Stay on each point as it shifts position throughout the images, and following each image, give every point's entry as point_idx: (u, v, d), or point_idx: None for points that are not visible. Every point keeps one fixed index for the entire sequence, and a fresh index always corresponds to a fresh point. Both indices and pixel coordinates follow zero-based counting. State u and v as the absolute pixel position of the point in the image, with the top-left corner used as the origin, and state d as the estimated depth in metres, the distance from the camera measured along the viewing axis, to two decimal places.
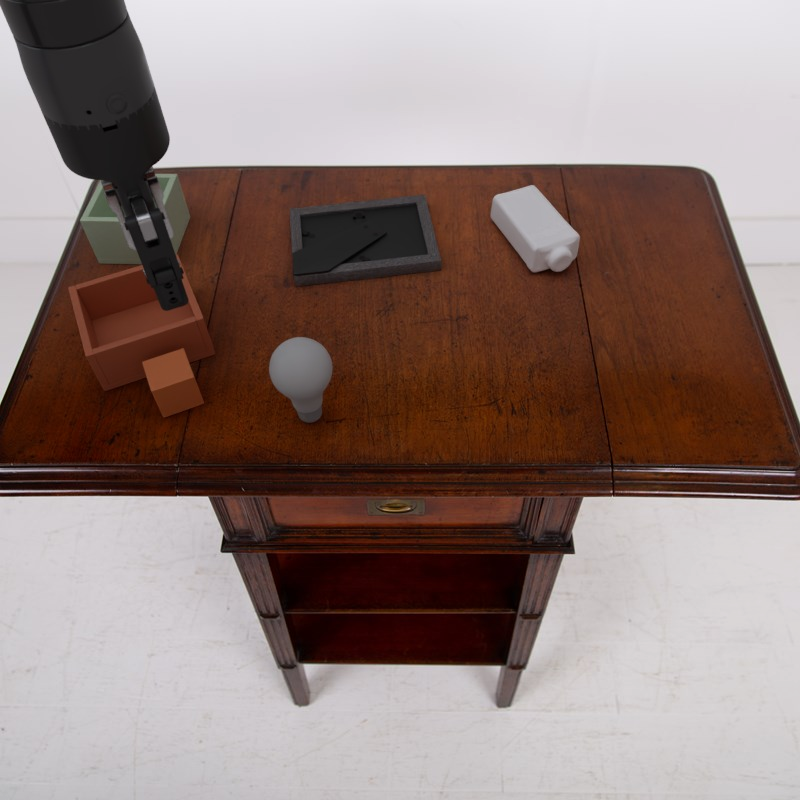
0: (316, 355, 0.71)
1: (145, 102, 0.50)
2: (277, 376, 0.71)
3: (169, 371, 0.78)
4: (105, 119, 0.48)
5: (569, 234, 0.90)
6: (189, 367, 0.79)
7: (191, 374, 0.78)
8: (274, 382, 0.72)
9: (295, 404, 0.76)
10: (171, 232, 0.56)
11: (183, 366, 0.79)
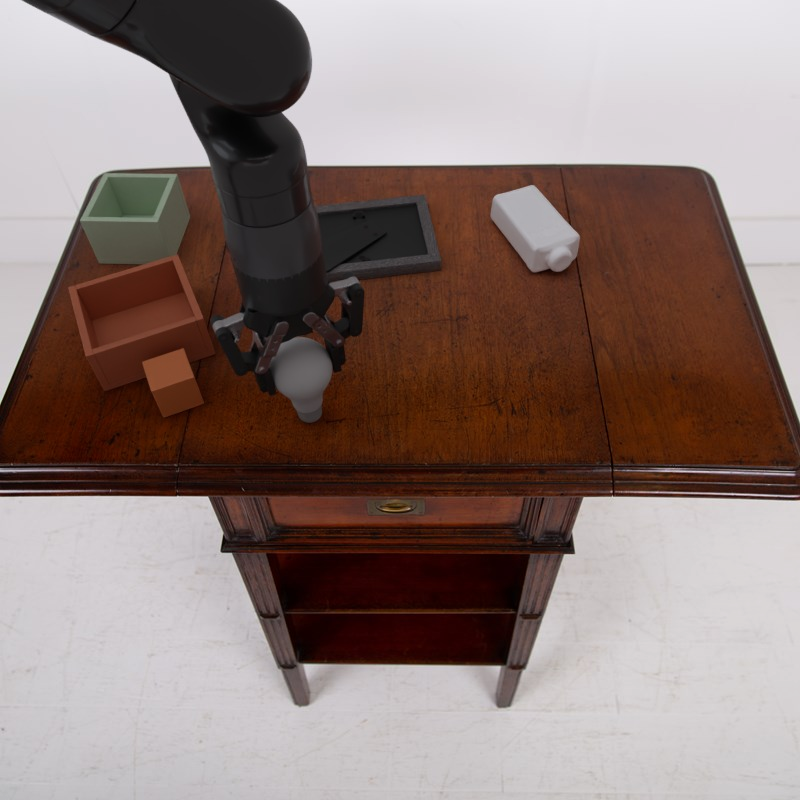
0: (315, 355, 0.71)
1: None
2: (276, 376, 0.71)
3: (169, 371, 0.78)
4: None
5: (569, 234, 0.90)
6: (189, 367, 0.79)
7: (191, 374, 0.78)
8: (274, 382, 0.72)
9: (295, 404, 0.76)
10: None
11: (183, 366, 0.79)
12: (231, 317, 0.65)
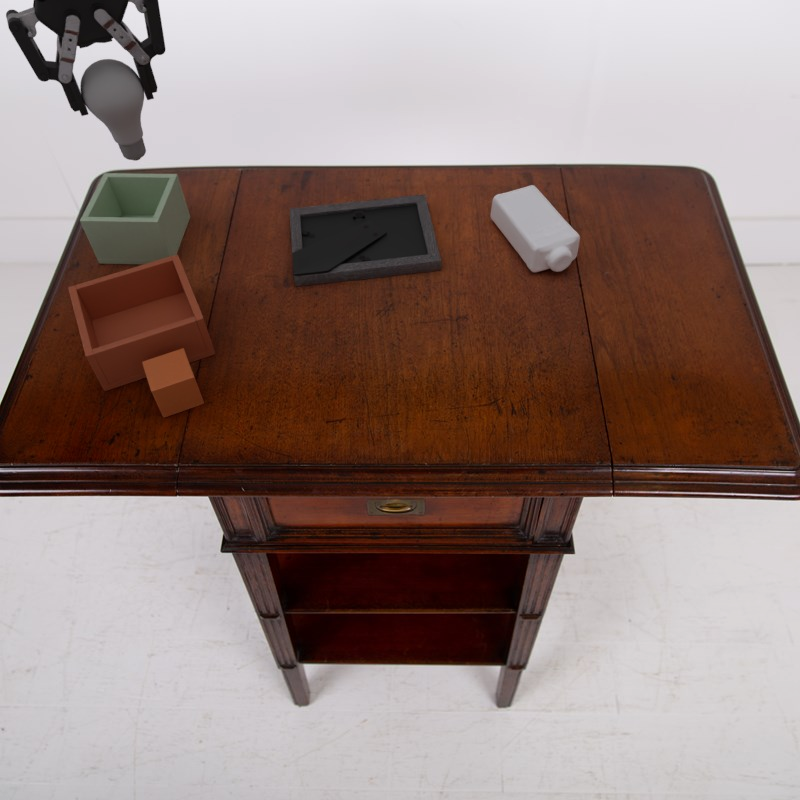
0: (121, 71, 0.75)
1: None
2: (84, 91, 0.75)
3: (169, 371, 0.78)
4: None
5: (569, 233, 0.90)
6: (189, 367, 0.79)
7: (191, 374, 0.78)
8: (84, 100, 0.76)
9: (112, 133, 0.80)
10: (126, 25, 0.75)
11: (183, 366, 0.79)
12: (24, 11, 0.69)
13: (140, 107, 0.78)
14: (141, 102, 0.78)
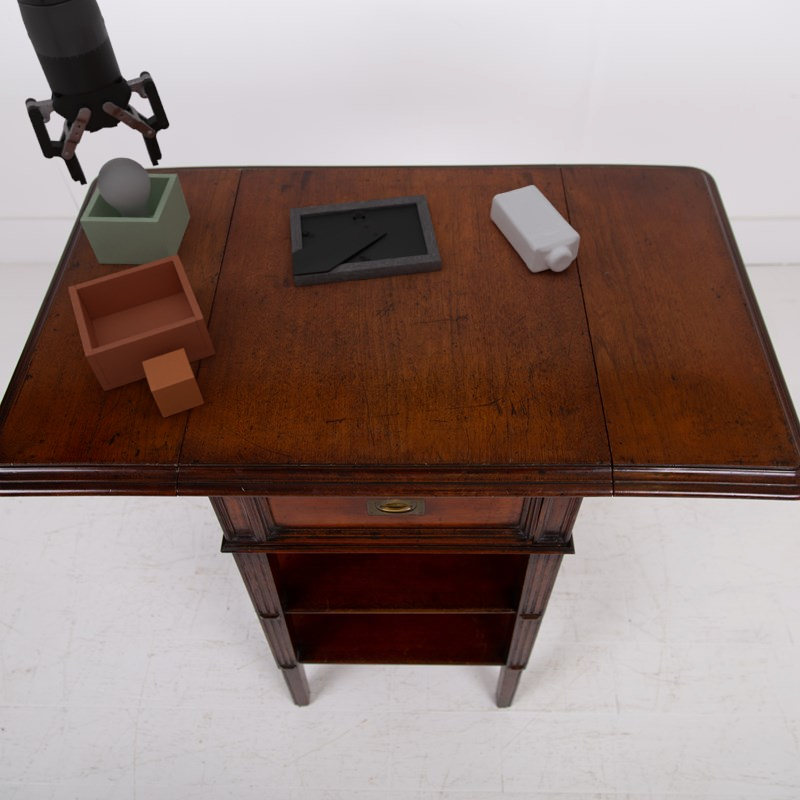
0: (132, 169, 0.90)
1: None
2: (101, 185, 0.90)
3: (169, 371, 0.78)
4: (106, 29, 0.79)
5: (569, 234, 0.90)
6: (189, 367, 0.79)
7: (191, 374, 0.78)
8: (100, 192, 0.91)
9: None
10: (132, 106, 0.87)
11: (183, 366, 0.79)
12: (43, 101, 0.82)
13: (147, 196, 0.92)
14: (148, 192, 0.92)
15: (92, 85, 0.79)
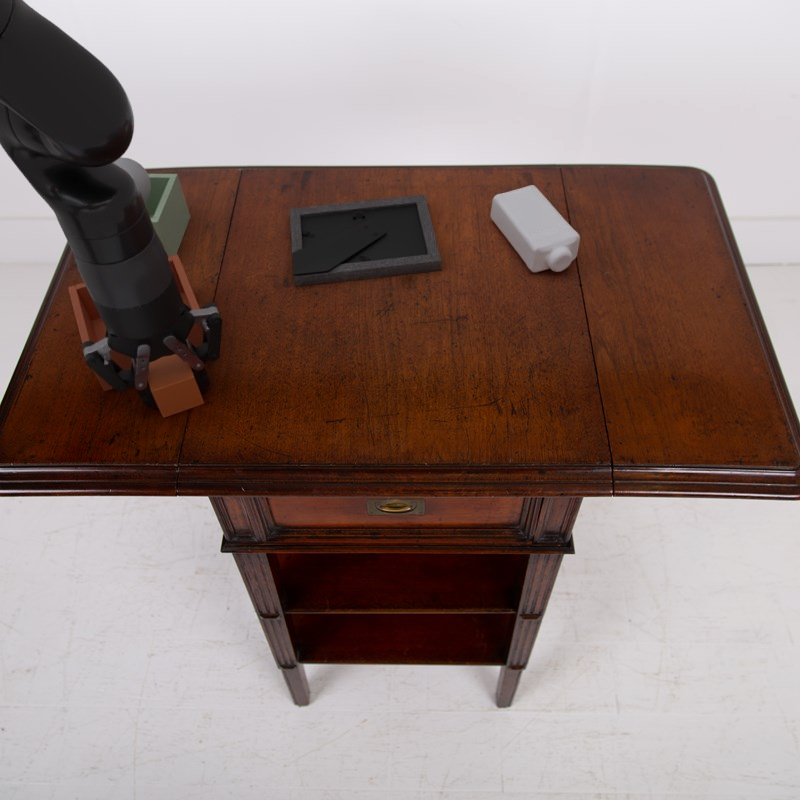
0: (132, 169, 0.90)
1: None
2: None
3: (169, 371, 0.78)
4: None
5: (569, 234, 0.90)
6: (189, 367, 0.79)
7: (191, 374, 0.78)
8: None
9: None
10: None
11: (183, 366, 0.79)
12: (98, 342, 0.73)
13: (147, 196, 0.92)
14: (148, 192, 0.92)
15: (154, 329, 0.69)
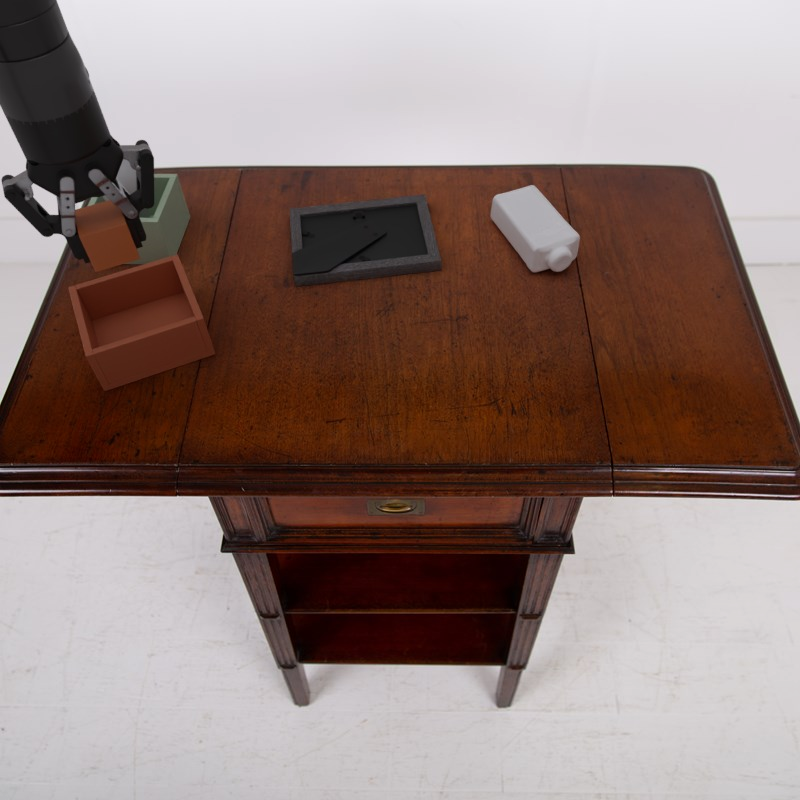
0: (132, 169, 0.90)
1: None
2: None
3: (99, 218, 0.74)
4: (91, 84, 0.65)
5: (569, 234, 0.90)
6: (121, 215, 0.74)
7: (123, 221, 0.73)
8: None
9: None
10: (117, 178, 0.73)
11: (115, 214, 0.74)
12: (18, 175, 0.68)
13: None
14: None
15: (74, 152, 0.65)
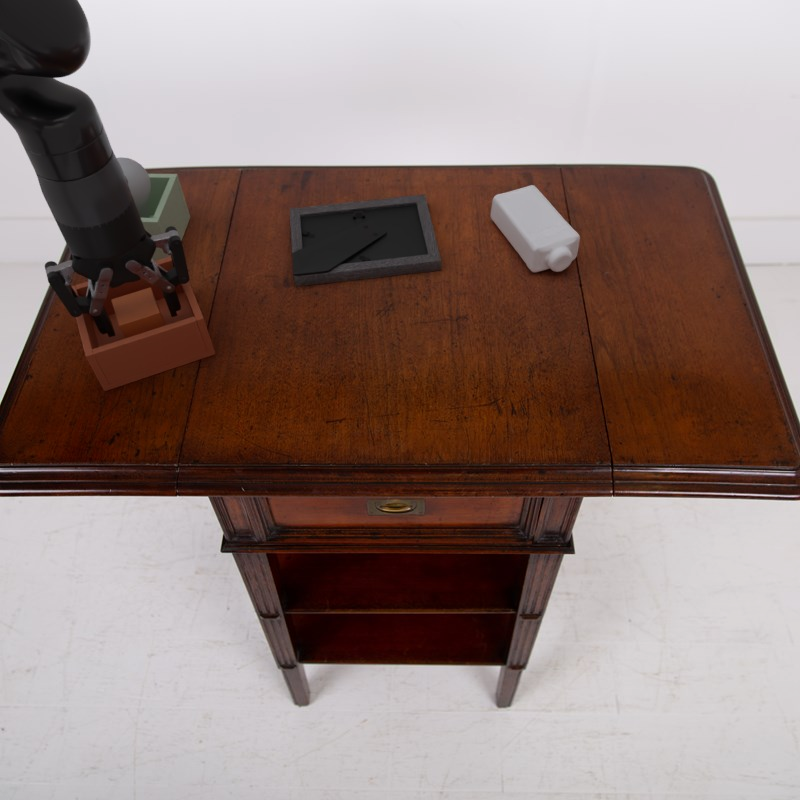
0: (132, 169, 0.90)
1: None
2: None
3: (136, 308, 0.83)
4: None
5: (569, 234, 0.90)
6: (155, 304, 0.84)
7: (157, 310, 0.83)
8: None
9: None
10: (153, 259, 0.82)
11: (150, 303, 0.84)
12: (62, 263, 0.76)
13: (147, 196, 0.92)
14: (148, 192, 0.92)
15: (115, 250, 0.73)
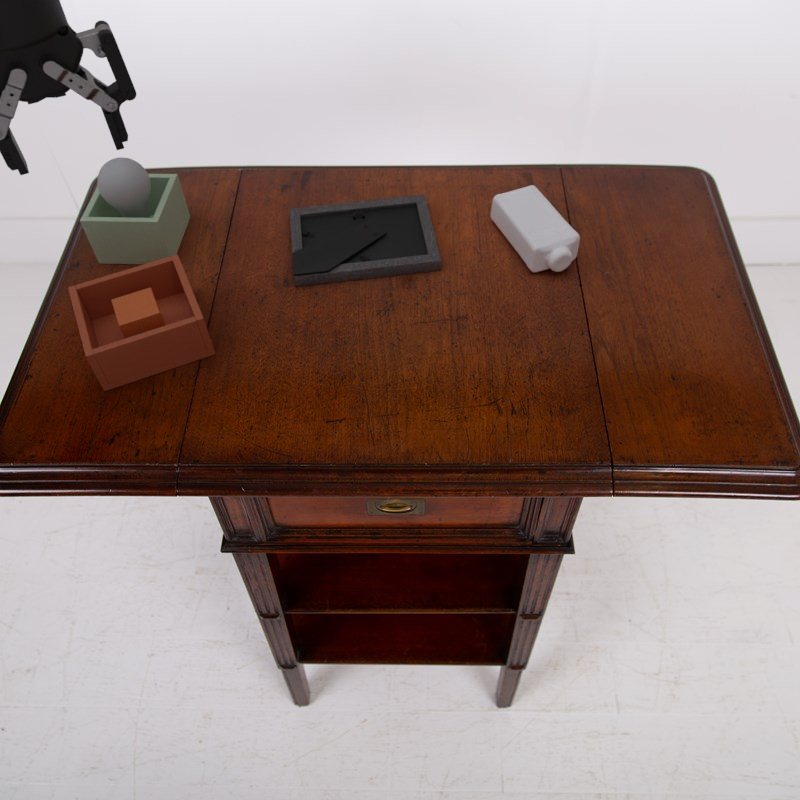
0: (132, 169, 0.90)
1: None
2: (101, 185, 0.90)
3: (136, 308, 0.83)
4: None
5: (569, 234, 0.90)
6: (155, 304, 0.84)
7: (157, 310, 0.83)
8: (100, 192, 0.91)
9: None
10: (87, 70, 0.65)
11: (150, 303, 0.84)
12: None
13: (147, 196, 0.92)
14: (148, 192, 0.92)
15: (24, 35, 0.57)
